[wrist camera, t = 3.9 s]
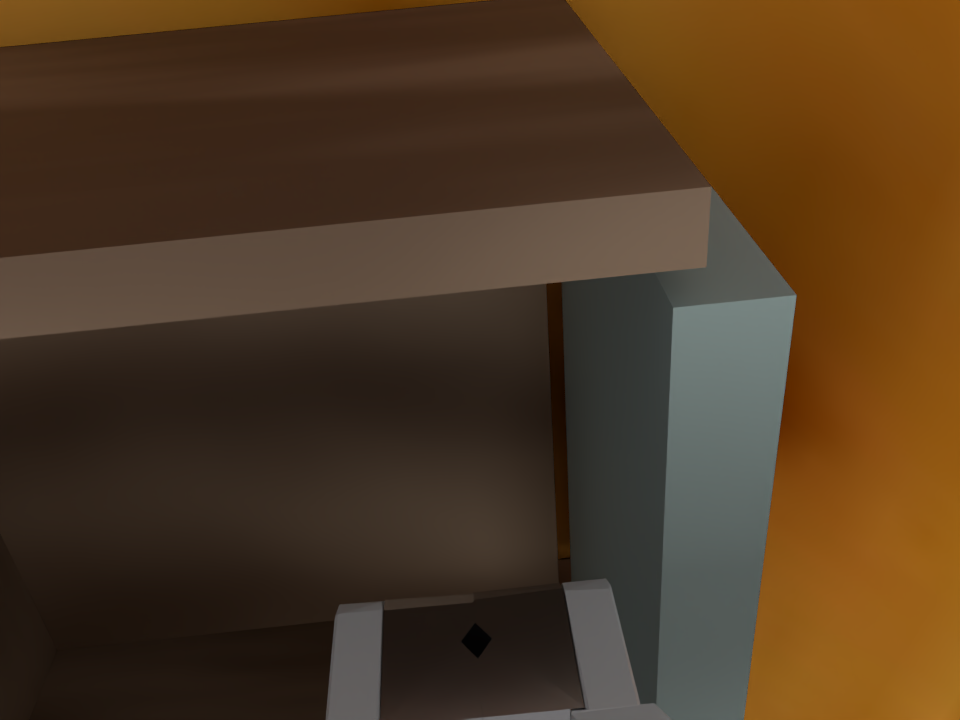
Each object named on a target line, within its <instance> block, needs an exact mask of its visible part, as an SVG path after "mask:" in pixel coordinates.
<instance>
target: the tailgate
mask: <svg viewBox="0 0 960 720" xmlns="http://www.w3.org/2000/svg"><path fill="white" fill-rule="evenodd" d="M796 296H797V295H796V294H795V292H794V291H793V290H792V289H791V287H790V286H789V285H788V284H787V282H786V281H785V280H784V278H783V277H782V276H781V275H780V273H779V272H778V271H777V270H776V268H775V267H774V266H773V264H772V263H771V262H770V261H769V259H768V258H767V257H766V256H765V254H764V253H763V252H762V250H761V249H760V248H759V247H758V245H757V244H756V243H755V242H754V240H753V239H752V238H751V236H750V235H749V234H748V233H747V231H746V230H745V229H744V227H743V226H742V225H741V224H740V222H739V221H738V220H737V219H736V217H735V216H734V215H733V213H732V212H731V211H730V210H729V208H728V207H727V206H726V205H725V203H724V202H723V201H722V199H721V198H720V197H719V196H718V194H717V193H716V192H715V191H714V189H713V188H712V187H711V203H710V219H709V235H708V251H707V266H706V267H704V268H695V269H685V270H675V271H665V272H655V273H645V274H636V275H626V276H616V277H606V278H596V279H587V280H577V281H567V282H562V309H563V341H564V372H565V403H566V434H567V465H568V496H569V527H570V558H571V582H576V581H585V580H595V579H604V578H606V579H607V581H608V582H609V583H610V585H611V588H612V592H613V596H614V600H615V604H616V608H617V612H618V616H619V620H620V624H621V628H622V632H623V636H624V640H625V644H626V648H627V652H628V656H629V660H630V664H631V668H632V672H633V676H634V680H635V684H636V688H637V692H638V696H639V700H640V704H649V703H655V704H656V705H657V706H658V707H659V708H660V709H661V710H662V711H663V712H664V713H665V714H666V715H668V716H669V717H670V718H671V719H672V720H744V713H745V705H746V697H747V689H748V681H749V673H750V665H751V657H752V649H753V641H754V633H755V625H756V617H757V609H758V601H759V593H760V585H761V577H762V569H763V561H764V553H765V545H766V537H767V529H768V520H769V512H770V504H771V496H772V488H773V480H774V472H775V464H776V456H777V448H778V440H779V432H780V424H781V416H782V408H783V400H784V392H785V384H786V376H787V368H788V360H789V352H790V344H791V336H792V328H793V320H794V312H795V304H796Z"/></svg>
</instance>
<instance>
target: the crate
mask: <svg viewBox="0 0 960 720" xmlns="http://www.w3.org/2000/svg"><path fill="white" fill-rule="evenodd" d="M710 203H711V185H710V184H709V183H708V182H707V180H706V179H705V178H704V176H703V175H702V174H701V173H700V171H699V170H698V169H697V168H696V166H695V165H694V164H693V162H692V161H691V160H690V159H689V157H688V156H687V155H686V154H685V152H684V151H683V150H682V148H681V147H680V146H679V145H678V143H677V142H676V141H675V139H674V138H673V137H672V136H671V134H670V133H669V132H668V131H667V129H666V128H665V127H664V125H663V124H662V123H661V122H660V120H659V119H658V118H657V117H656V115H655V114H654V113H653V111H652V110H651V109H650V108H649V106H648V105H647V104H646V103H645V101H644V100H643V99H642V97H641V96H640V95H639V94H638V92H637V91H636V90H635V89H634V87H633V86H632V85H631V83H630V82H629V81H628V80H627V78H626V77H625V76H624V74H623V73H622V72H621V71H620V69H619V68H618V67H617V66H616V64H615V63H614V62H613V60H612V59H611V58H610V57H609V55H608V54H607V53H606V52H605V50H604V49H603V48H602V46H601V45H600V44H599V43H598V41H597V40H596V39H595V38H594V36H593V35H592V34H591V32H590V31H589V30H588V29H587V27H586V26H585V25H584V24H583V22H582V21H581V20H580V18H579V17H578V16H577V15H576V13H575V12H574V11H573V10H572V8H571V7H570V6H569V4H568V3H567V2H566V1H565V0H492V1H482V2H471V3H461V4H450V5H440V6H429V7H419V8H408V9H398V10H387V11H377V12H367V13H356V14H346V15H335V16H325V17H314V18H304V19H293V20H283V21H272V22H262V23H251V24H241V25H231V26H220V27H210V28H199V29H189V30H178V31H168V32H157V33H147V34H136V35H126V36H116V37H105V38H95V39H84V40H74V41H63V42H53V43H42V44H32V45H21V46H11V47H0V720H326V709H327V698H328V687H329V676H330V665H331V654H332V643H333V632H334V621H335V616H336V613H337V610H338V607H339V605H340V604H352V603H365V602H377V601H385V600H395V599H409V598H422V597H436V596H449V595H462V594H473V592H482V591H491V590H500V589H508V588H517V587H526V586H535V585H544V584H553V583H560V584H561V585H562V583H566V582H571V559H564V560H558V550H557V526H556V503H555V479H554V455H553V432H552V408H551V385H550V361H549V338H548V314H547V291H546V284H547V283H557V282H567V281H577V280H587V279H596V278H606V277H616V276H626V275H636V274H645V273H655V272H665V271H675V270H685V269H695V268H704V267H706V266H707V251H708V235H709V219H710Z"/></svg>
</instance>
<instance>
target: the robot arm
mask: <svg viewBox="0 0 960 720" xmlns="http://www.w3.org/2000/svg"><path fill="white" fill-rule="evenodd" d="M326 720H672V719H671V718H670V717H669V716H668V715H666V714H665V713H664V712H663V711H662V710H661V709H660V708H659V707H658V706H657V705H656V704H655V703H649V704H640V700H639V696H638V692H637V688H636V684H635V680H634V676H633V672H632V668H631V664H630V660H629V656H628V652H627V648H626V644H625V640H624V636H623V632H622V628H621V624H620V620H619V616H618V612H617V608H616V604H615V600H614V596H613V592H612V588H611V585H610V583H609V582H608V581H607V579H606V578H604V579H595V580H585V581H576V582H566V583H562V585H561V584H560V583H553V584H544V585H535V586H526V587H517V588H508V589H500V590H491V591H482V592H473V594H462V595H449V596H436V597H422V598H409V599H395V600H385V601H377V602H365V603H352V604H340V605H339V607H338V610H337V613H336V616H335V621H334V632H333V643H332V654H331V665H330V676H329V687H328V698H327V709H326Z"/></svg>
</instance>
